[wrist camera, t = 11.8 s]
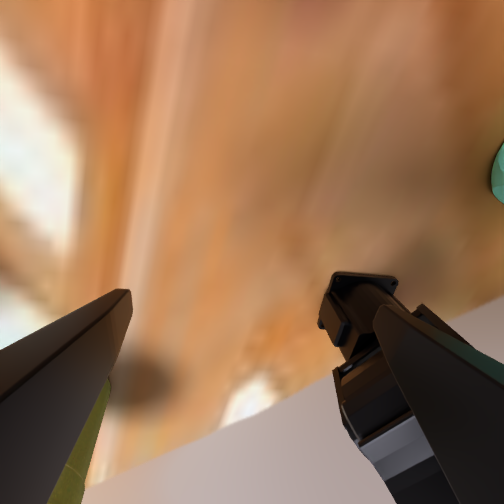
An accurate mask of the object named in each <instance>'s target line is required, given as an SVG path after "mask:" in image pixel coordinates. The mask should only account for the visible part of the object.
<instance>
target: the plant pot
mask: <svg viewBox="0 0 504 504" xmlns="http://www.w3.org/2000/svg"><path fill="white" fill-rule="evenodd" d="M110 391H111V385H110V382H109V380H108V379H107V380H106V382H105V384H104V386H103V389H102V391H101V393H100V395H99V397H98V399H97V401H96V403H95V405H94V407H93V409H92V411H91V413H90V415H89V417H88V419H87V422H86V424H85V426H84V428H83V430H82V432H81V434H80V436H79V438H78V440H77V442H76V444H75V446H74V448H73V450H72V453H71V455H70V457H69V459H68V461H67V463H66V465H65V467H64V469H63V471H62V473H61V475H60V477H59V479H58V481H57V484H56V486H55V488H54V490H53V492H52V494H51V496H50V498H49V500H48V502H47V504H81V502H82V498H83V494H84V491H85V484H84V483H85V479H86V475H87V472H88V468H89V465H90V461H91V458H92V454H93V451H94V447H95V444H96V440H97V437H98V433H99V430H100V426H101V423H102V419H103V416H104V412H105V409H106V406H107V402H108V399H109V395H110Z"/></svg>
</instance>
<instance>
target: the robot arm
mask: <svg viewBox="0 0 504 504" xmlns="http://www.w3.org/2000/svg"><path fill="white" fill-rule="evenodd" d="M338 277H339V279H337V280H336V278H338ZM391 282H392V283H391ZM397 285H398V280H397V279H396V278H395V277H389V276H375V275H362V274H348V273H335V274H333V275H332V277H331V281H330V284H329V287H328V290H327V293H326V294H325V295H324V298H323V302H322V305H321V308H320V311H319V319H318V322H317V325H318V327H319V328H320V329H325V330H326V331H327V333H328V335H329V337H330V339H331V341H332V343H333V345H334V346H335V347H339V349H340V351H341V352H342V354H343V356H344V358H345V360H346V362H345V363H344V364H342V365H341V366H340V367H336V368H335V369H333V370H332V372H333V377H334V382H335V388H336V393H337V398H338V404H339V409H340V413H341V417H342V423H343V425H344V427H345V429H346V430H347V431H348V434H349V436H350V438H351V439H352V440H353V441H354V443H355V444H356V446H357V447H358V449H359V450H360V451H361V452H362V453H363V455H364V456H365V457H366V458H367V459H368V460H370V462H371V463H372V464H373V465H374V467H375V469H376V470H377V472H378V473H379V475H380V476H381V477H382V479H383V481H384V482H385V484H386V486H387V488H388V489H389V491H390V493H391V494H392V496H393V498H394V500H395V502H396V503H397V504H504V364H502V363H500V362H498V361H496V360H495V359H493V358H491V357H489V356H487V355H485V354H483V353H481V352H480V351H478V350H476V349H475V348H474V347H473V346H471V345H470V344H469V343H468V342H467V341H466V340H464V339H463V338H462V337H461V336H460V335H459V334H458V333H457V332H455V331H454V330H453V329H452V328H451V327H450V326H448V325H447V324H446V323H445V322H444V321H443V320H441V319H440V318H439V317H438V316H437V315H436V314H434V313H433V312H432V311H431V310H430V309H428V308H427V307H426V306H425V305H424V304H423V303H422V304H421V305H419V306H418V307H417V309H416V310H415V311H414V312H412V313H411V312H410V311H409V310H408V309H407V308H406V307H405V306H404V305H403V304H402V303H401V302H400V301H399V300H398V299H397V298H396V297H395V296H394V295H393V294H394V292H395V290H396V287H397ZM132 313H133V306H132V296H131V291H130V290H129V289H115V290H113V291H111V292H109V293H107V294H105V295H103V296H101V297H100V298H98V299H96V300H94V301H92V302H90V303H88V304H86V305H84V306H83V307H81V308H79V309H77V310H75V311H73V312H71V313H69V314H68V315H66V316H64V317H62V318H60V319H58V320H56V321H54V322H52V323H51V324H49V325H47V326H45V327H43V328H41V329H39V330H37V331H35V332H34V333H32V334H30V335H28V336H26V337H24V338H22V339H20V340H18V341H17V342H15V343H13V344H11V345H9V346H7V347H5V348H3V349H1V350H0V504H47V502H48V500H49V498H50V496H51V494H52V492H53V490H54V488H55V486H56V484H57V481H58V479H59V477H60V475H61V473H62V471H63V469H64V467H65V465H66V463H67V461H68V459H69V457H70V455H71V453H72V450H73V448H74V446H75V444H76V442H77V440H78V438H79V436H80V434H81V432H82V430H83V428H84V426H85V424H86V422H87V419H88V417H89V415H90V413H91V411H92V409H93V407H94V405H95V403H96V401H97V399H98V397H99V395H100V393H101V391H102V389H103V386H104V384H105V382H106V380H107V378H108V376H109V374H110V372H111V370H112V368H113V366H114V364H115V361H116V359H117V357H118V354H119V351H120V349H121V346H122V343H123V340H124V337H125V334H126V331H127V329H128V326H129V323H130V320H131V317H132ZM322 324H323V325H322Z"/></svg>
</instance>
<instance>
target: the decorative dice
mask: <svg viewBox="0 0 504 504" xmlns="http://www.w3.org/2000/svg"><path fill="white" fill-rule="evenodd" d="M491 184H492V191H493V194H494V195H495V197H496V198H497V199H498V200H499V201H501V202H502V203H503V204H504V143H503V145H502V146H501V148H500V150H499V152H498V154H497V156H496V158H495V161H494V164H493V168H492V174H491Z"/></svg>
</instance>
